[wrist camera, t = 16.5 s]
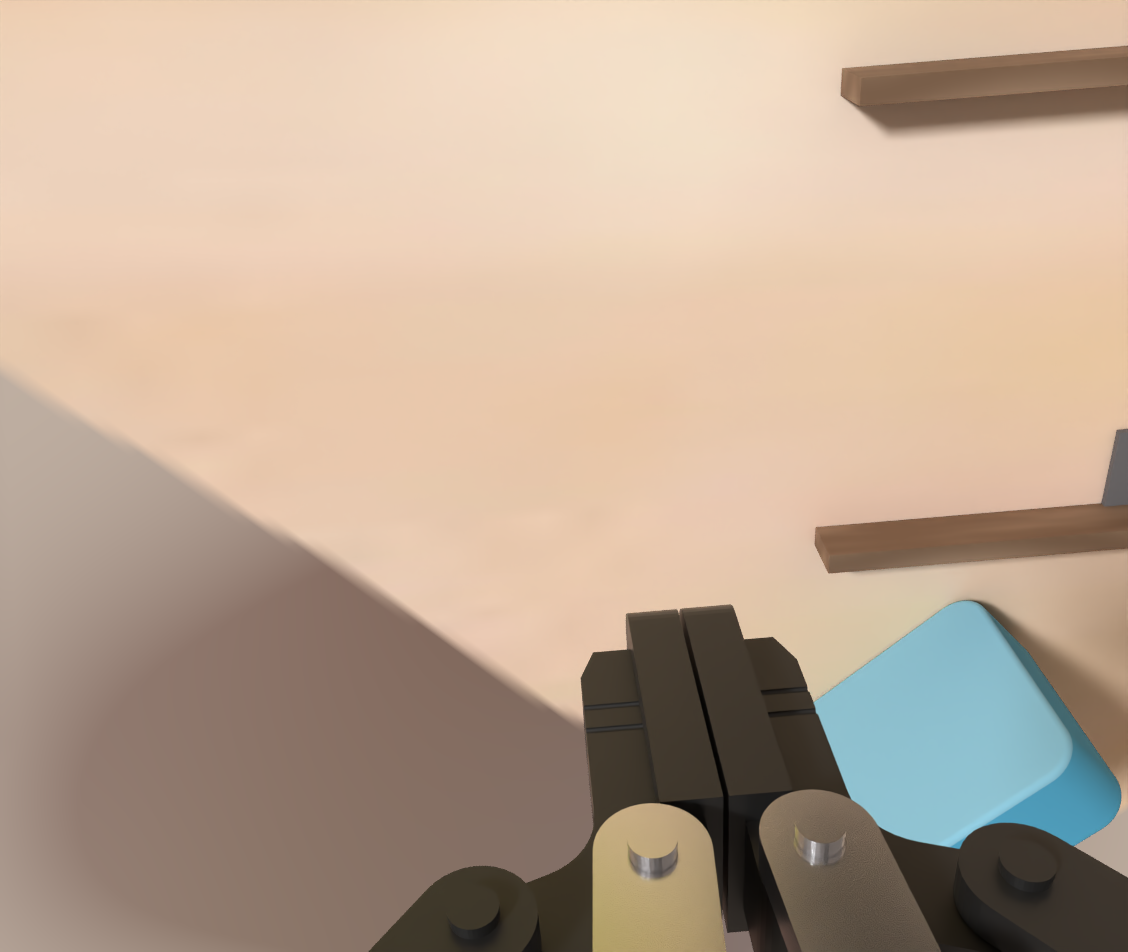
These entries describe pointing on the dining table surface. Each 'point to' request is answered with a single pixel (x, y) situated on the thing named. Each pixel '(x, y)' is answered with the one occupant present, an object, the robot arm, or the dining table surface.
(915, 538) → the lane rails
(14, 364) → the dining table surface
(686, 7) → the dining table surface
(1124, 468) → the pads
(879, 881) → the robot arm
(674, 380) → the dining table surface
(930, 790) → the data package
